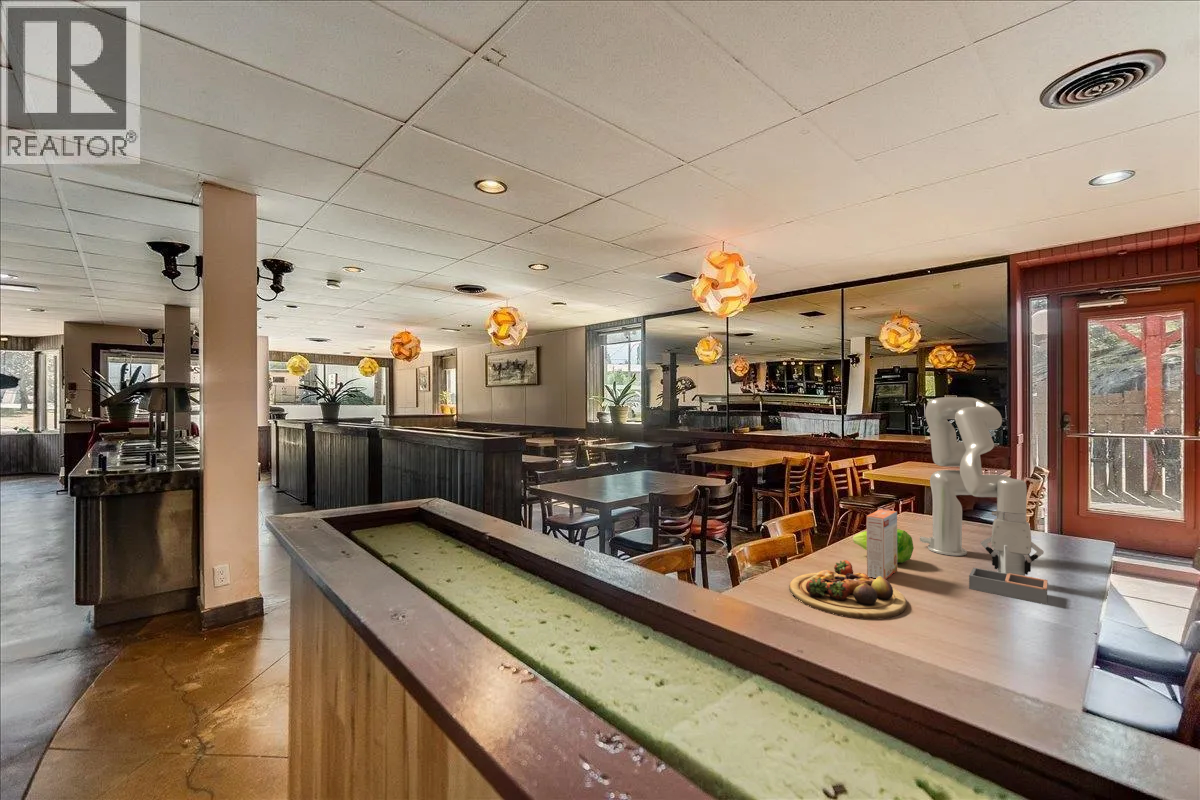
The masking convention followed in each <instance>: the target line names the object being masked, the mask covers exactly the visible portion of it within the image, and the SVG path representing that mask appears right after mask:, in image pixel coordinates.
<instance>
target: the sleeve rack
mask: <svg viewBox="0 0 1200 800" xmlns="http://www.w3.org/2000/svg"><path fill="white" fill-rule="evenodd" d="M968 589H969V590H973V591H979V592H984V593H988V594H992V593H993V594H994V595H999V596H1001V597H1002V596H1004V597H1006V598H1007V597H1008V598H1012V599H1017V600H1023V601H1027V602H1031V601H1032V603H1036V602H1037V604H1041V603H1042V605H1047V604H1048V603H1047V602H1048V579H1044V578H1038V577H1032V576H1028V575H1025V576H1022V575H1017V574H1011V573H1009V574H1008V573H1007V574H1006V573H1001V572H998V571H994V570H989V569H984V568H983V569H982V568H979V567H973V568H972V570H971V571H970V573H969V575H968ZM993 594H992V595H993Z"/></svg>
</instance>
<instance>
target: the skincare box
mask: <svg viewBox="0 0 1200 800" xmlns="http://www.w3.org/2000/svg"><path fill="white" fill-rule="evenodd" d="M997 556H998V568H997V572H1001V573H1006V574H1007V573H1008V574H1009V573H1011V574H1017V575H1022V576H1026V574H1025V561H1026V559H1025V557H1024V556H1023V554H1016V553H1011V552H1009V548H1008V546H1006V545H1004V551H999V552H998V553H997Z"/></svg>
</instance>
